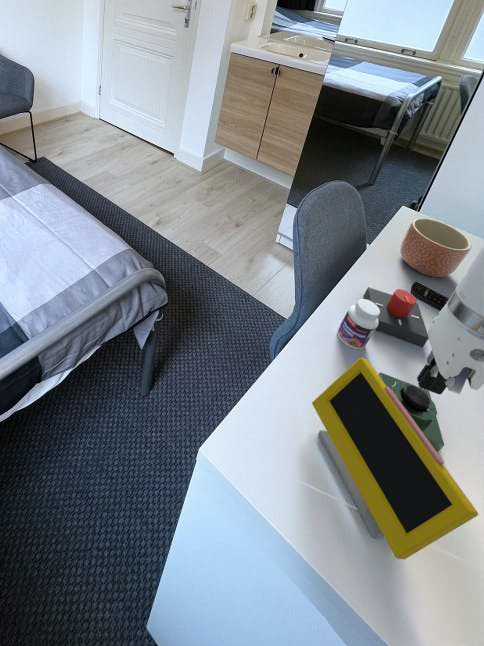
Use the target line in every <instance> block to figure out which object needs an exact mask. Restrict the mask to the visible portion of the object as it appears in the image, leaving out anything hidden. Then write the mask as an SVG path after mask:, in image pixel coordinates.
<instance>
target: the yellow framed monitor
mask: <svg viewBox="0 0 484 646" xmlns="http://www.w3.org/2000/svg"><path fill="white" fill-rule="evenodd" d="M378 374H379V373H378V372H377V371H376V369H375V368H374V366H372V364H371V362H370V361H369V360H368V359H367V358H363V357H359V358H358V359H357V360H356V361H355V362H354V363H353V364H352V365H350V366H349V368H347V369H346V370H345V371H344V372H342V374H340V375H339V377H338V378H336V380H334V381H333V382H332V383H331V384H330V385H329V386H328V387H327V388H326V389H325V390H324V391H323V392H321V394H319V396H317V397H316V398H315V399H314V400H313V401H312V402H311V405H312V406H313V408H314V410H315V412H316V414H317V416H318V417H319V419H320V421H321V423H322V425H323V427H324V428H325V430H323V429H320V430H319V431H318V436H319V438H320V440H321V442H322V444H323V445H324V447H325V450H326V452H327V453H328V456H329V458H330V459H331V461H332V462H333V465H334V466H335V468H336V470H337V472H338V474H339V476H340V479H341V480H342V482H343V484H344V486H345V487H346V490H347V491H348V493H349V496H350V497H351V499H352V501H353V503H354V504H355V507H356V508H357V510H358V512H359V514H360V516H361V518H362V520H363V523H365V526H366V528H367V529H368V531H369V533H370V535H371V538H373V539H376V538H379V537H380V536H382V535H383V537H384V539H385V540H386V542H387V544H388V546H389V548H390V550H391V552H392V554H393V555H394V557H395V559H397V560H406V559H408V558H410V557H411V556H413V555H414V554H416V553H418V552H420V551H421V550H423V549H424V548H426V547H428V546H430V545H431V544H432V543H434V542H436V541H438V540H439V539H441V538H443V537H444V536H447V535H448V534H449V533H451V532H453V531H455V530H456V529H458V528H460V527H461V526H463V525H464V524H466V523H468V522H470V521H471V520H473V519H474V518H477V517H478V516H479V511H478V510H477V509H476V508H475V506H474V505H473V503H472V502H471V501H470V499H469V498H468V497H467V495H466V494H465V492H464V491H463V490H462V488H461V487H460V486H459V484H458V483H457V482H456V480H455V479H454V477H453V476H452V474H451V473H450V472H449V470H448V469H447V468H446V466H445V465H444V463H445V462H444V460H443V459H442V457H441V456H440V455H439V453H438V452H437V451H436V450H435V449H434V448H433V446H432V445H431V443H430V442H429V441H428V439H427V438H426V437H425V435H424V434H423V432H422V431H421V430H420V428H419V427H418V426H417V424H416V423H415V421H414V420H413V419H412V417H411V416H410V415H409V413H408V412H407V410H406V409H405V408H404V406H403V405H402V404H401V402H400V401H399V399H398V398H397V397H396V395H395V394H394V393H393V391H392V390H391V389H390V388H389V387H388V386H386V385H385V383H384V382H383V381H382V379H381V378H380V376H379V375H378Z"/></svg>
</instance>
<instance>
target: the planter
mask: <svg viewBox="0 0 484 646" xmlns="http://www.w3.org/2000/svg"><path fill="white" fill-rule="evenodd" d="M472 246H473V245H472V241H471V240H470V239H469V238H468V236H466V235H465V234H464V233H463V232H462V231H460V230H458V229H457V228H455V227H453V226H451V225H449V224H447V223H445V222H442V221H439V220H435V219H432V218H425V217H421V218H420V217H419V218H416V219H414V220H413V221H412V222H411V224H410V225H409V227H408V229H407V231H406V233H405V235H404V237H403V240H402V242H401V244H400V250H399V251H400V255H401V258H402V259H403V261H404V262H405V263H406V264H407V265H408V266H409V267H410V268H411V269H413V270H414V271H416V272H418V273H420V274H423V275H426V276H429V277H436V278H443V277H448V276H451V274H453V273H454V272H455V271H456V270H457V269H458V267H459V266H460V264H461V263H462V262H463V261H464V259H465V258H466V257H467V256H468V254H469V253H470V251H471V250H472Z"/></svg>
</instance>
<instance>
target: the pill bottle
mask: <svg viewBox="0 0 484 646" xmlns="http://www.w3.org/2000/svg"><path fill="white" fill-rule="evenodd" d="M379 314H380V310H379V308H378V307H377V305H375V304H374V303H373V302H371V301H369V300H366V299H364V298H360V299H358V300H357V301H356V303H355V304H354V305H351V306H350V307H349V308H348V310H347V312H346V313H345V315H344V316H343V319H342V321H341V323H340V324H339V326H338V327H337V331H336V332H337V336H338V338H339V340H340V341H341V342H342V343H343V344H344V345H345V346H347V347H348V348H351V349H354V350H362V349H364V348H365V347H366V346H367V345H368V343H369V341H370V339H371V338H372V336H373V335H374V333H375V331H376V328H377V326H378V323H379V321H378V318H377V317H378V316H379Z"/></svg>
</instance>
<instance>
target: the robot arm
mask: <svg viewBox="0 0 484 646" xmlns="http://www.w3.org/2000/svg"><path fill="white" fill-rule="evenodd" d="M427 333H428V338H429V339H428V342H429V345H430V348H431V350H430V352H429V354H428V356H427V358H426V364H425V365H424V366H423V368H422V369H421V371H420V372H419V373H418V375H417V377H416V380H417V382H418V387H420V388H422V389H425V390H427V391H429V392H431V393H434V394H437V395H442V394H443V392H445V390H446V389H447V390H448V391H450V392H452V393H455V394H457V395H460V394H461V392H462V390H463V388H464V386H465V384H466V381H468V385H469V387H470V389H472V390H474V391H479V390H480V389H481V388H482V387H483V385H484V245H482V247H481V248H480V250H479V251H478V253H477V255H476V256H475V258H474V260H473V261H472V262H471V264H470V265H469V268H467V271H466V272H465V273H464V275H463V276H462V278H461V280H460V281H459V283H458V284H457V286H456V287H455V289H454V290H453V292H452V294H451V295H450V297H449V298H448V299H447V301H446V303H445V305H444V306H443V307H442V308H441V310H440V311H439V312H438V313H437V315H436V316H435V317H434V319H433V320H432V322H431V323H430V326H429V328H428V330H427Z"/></svg>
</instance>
